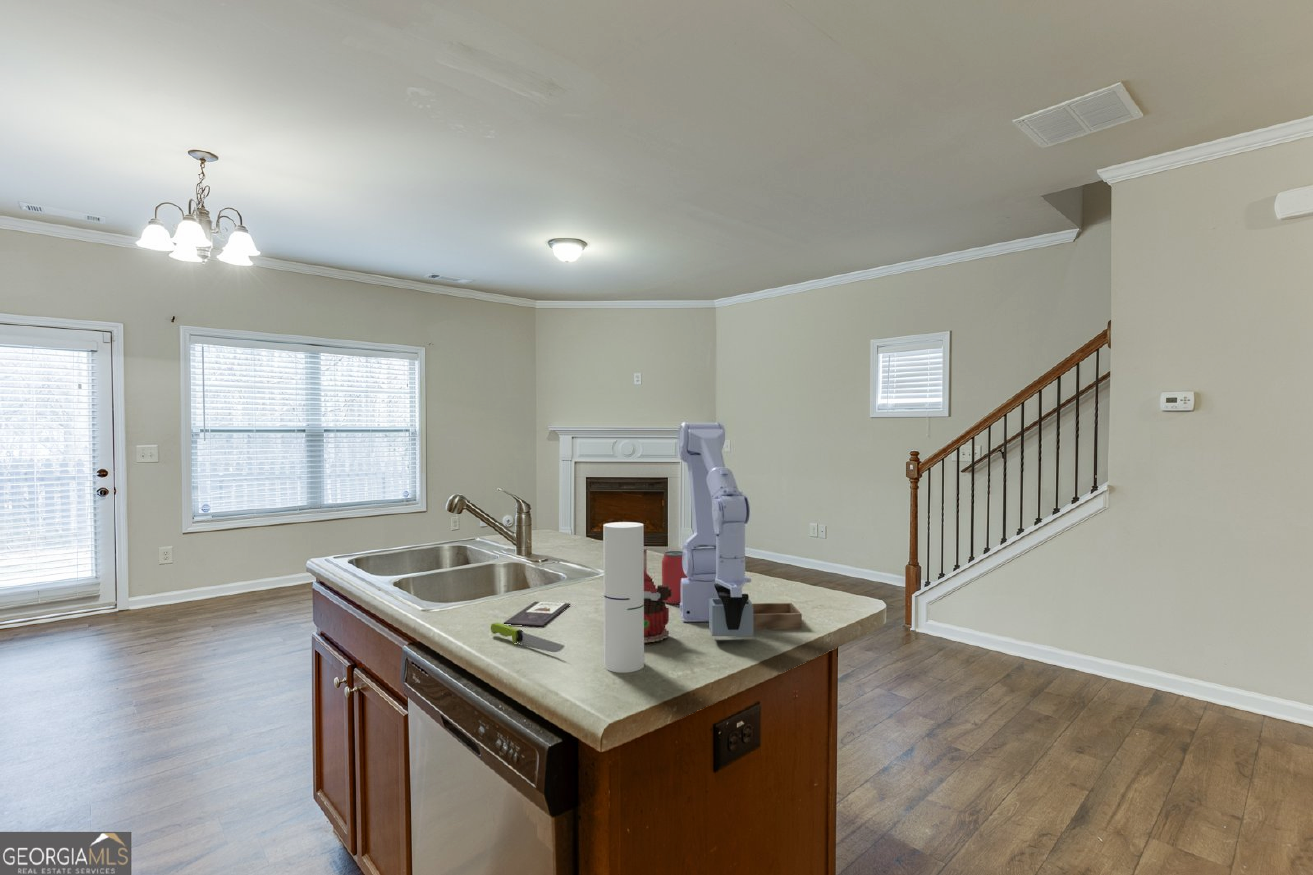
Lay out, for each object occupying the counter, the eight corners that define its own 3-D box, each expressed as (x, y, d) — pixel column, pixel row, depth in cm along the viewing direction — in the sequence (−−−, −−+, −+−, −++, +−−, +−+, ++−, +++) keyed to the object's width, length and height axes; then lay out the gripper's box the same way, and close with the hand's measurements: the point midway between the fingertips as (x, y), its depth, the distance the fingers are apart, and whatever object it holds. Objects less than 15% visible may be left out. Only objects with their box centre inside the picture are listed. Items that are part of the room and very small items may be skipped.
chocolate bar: (503, 622, 136) (535, 601, 154) (503, 627, 136) (535, 605, 154) (542, 625, 135) (570, 603, 152) (542, 629, 135) (570, 607, 152)
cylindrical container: (603, 658, 115) (603, 522, 115) (642, 657, 116) (642, 521, 116) (603, 673, 108) (603, 527, 108) (645, 671, 109) (644, 527, 109)
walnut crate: (748, 631, 133) (748, 614, 133) (740, 619, 142) (740, 603, 142) (801, 630, 133) (801, 614, 133) (791, 618, 142) (791, 602, 142)
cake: (674, 632, 131) (674, 545, 131) (667, 647, 122) (667, 554, 122) (624, 629, 133) (623, 544, 133) (613, 644, 124) (613, 552, 124)
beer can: (689, 598, 159) (689, 550, 159) (687, 605, 152) (687, 555, 152) (663, 597, 159) (663, 550, 159) (660, 604, 153) (660, 555, 153)
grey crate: (712, 636, 122) (712, 605, 122) (709, 628, 128) (708, 598, 128) (753, 636, 122) (753, 605, 122) (748, 627, 128) (748, 598, 128)
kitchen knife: (567, 660, 116) (567, 644, 116) (562, 662, 115) (562, 645, 115) (495, 635, 130) (495, 621, 130) (490, 637, 129) (490, 622, 129)
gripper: (757, 563, 118) (758, 635, 118) (744, 549, 132) (744, 613, 132) (720, 563, 118) (720, 636, 118) (710, 549, 132) (710, 614, 132)
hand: (730, 624), depth 125 cm, fingers closed on grey crate, 5 cm apart
